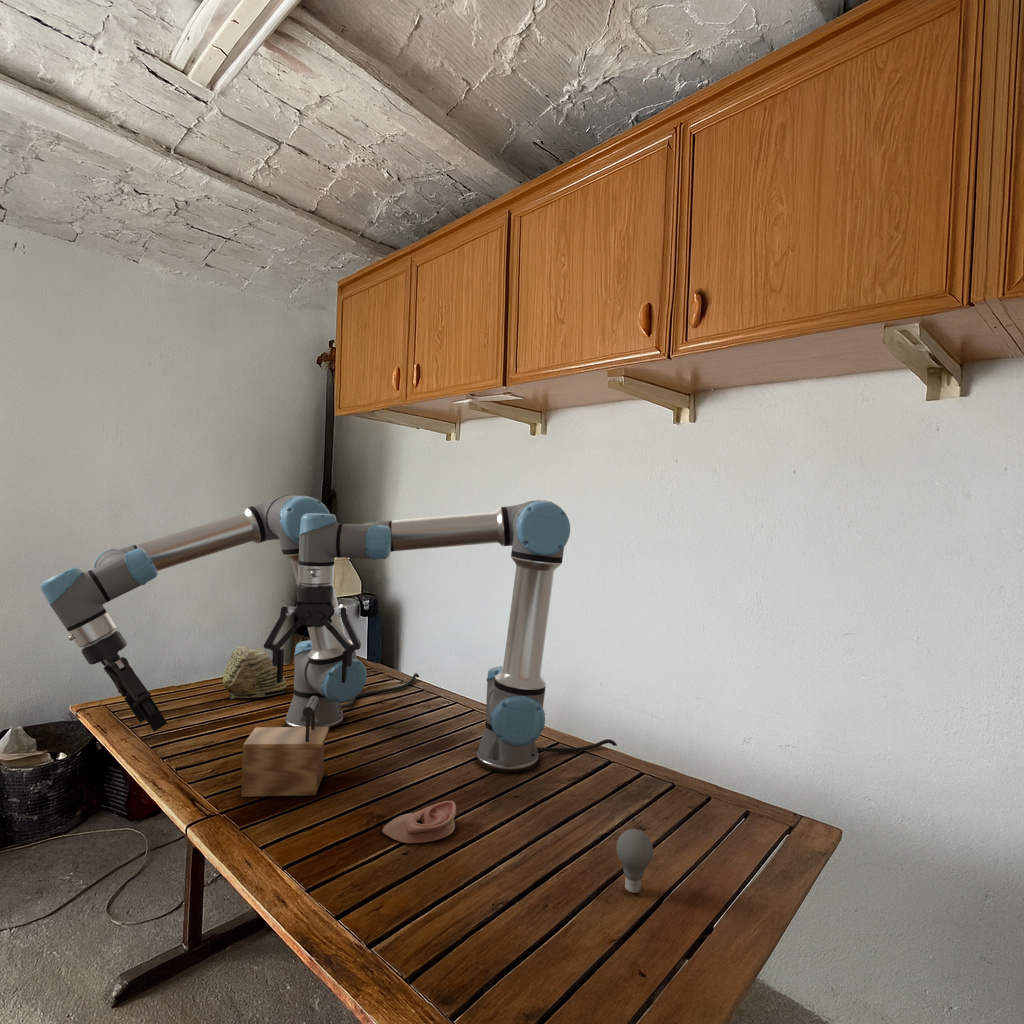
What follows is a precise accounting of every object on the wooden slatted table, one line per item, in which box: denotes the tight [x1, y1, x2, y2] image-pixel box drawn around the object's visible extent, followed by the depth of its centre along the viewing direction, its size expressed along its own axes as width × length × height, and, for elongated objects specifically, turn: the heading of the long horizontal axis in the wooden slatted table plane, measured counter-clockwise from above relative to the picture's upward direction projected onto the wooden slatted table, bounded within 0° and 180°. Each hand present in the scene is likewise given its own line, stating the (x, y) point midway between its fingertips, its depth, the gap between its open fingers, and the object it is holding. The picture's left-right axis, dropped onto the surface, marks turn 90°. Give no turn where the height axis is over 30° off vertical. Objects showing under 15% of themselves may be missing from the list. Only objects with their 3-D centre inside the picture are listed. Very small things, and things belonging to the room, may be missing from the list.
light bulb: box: [615, 828, 654, 894], centre depth 106 cm, size 6×6×10 cm
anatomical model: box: [381, 800, 457, 844], centre depth 122 cm, size 13×4×12 cm
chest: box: [240, 740, 326, 798], centre depth 138 cm, size 15×10×10 cm, turn 98°
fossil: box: [222, 646, 288, 699], centre depth 198 cm, size 9×18×15 cm, turn 132°
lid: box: [242, 696, 330, 749], centre depth 138 cm, size 16×10×8 cm, turn 98°
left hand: (153, 722), depth 136 cm, fingers open, 13 cm apart
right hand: (312, 681), depth 138 cm, fingers open, 13 cm apart
